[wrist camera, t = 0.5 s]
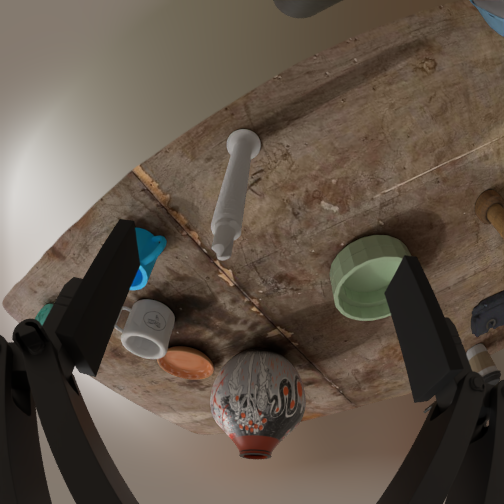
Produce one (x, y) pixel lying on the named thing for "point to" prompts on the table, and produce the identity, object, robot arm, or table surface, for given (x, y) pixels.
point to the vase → (257, 401)
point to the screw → (233, 191)
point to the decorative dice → (43, 313)
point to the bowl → (366, 276)
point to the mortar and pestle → (491, 210)
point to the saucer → (186, 363)
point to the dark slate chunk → (488, 314)
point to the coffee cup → (483, 364)
